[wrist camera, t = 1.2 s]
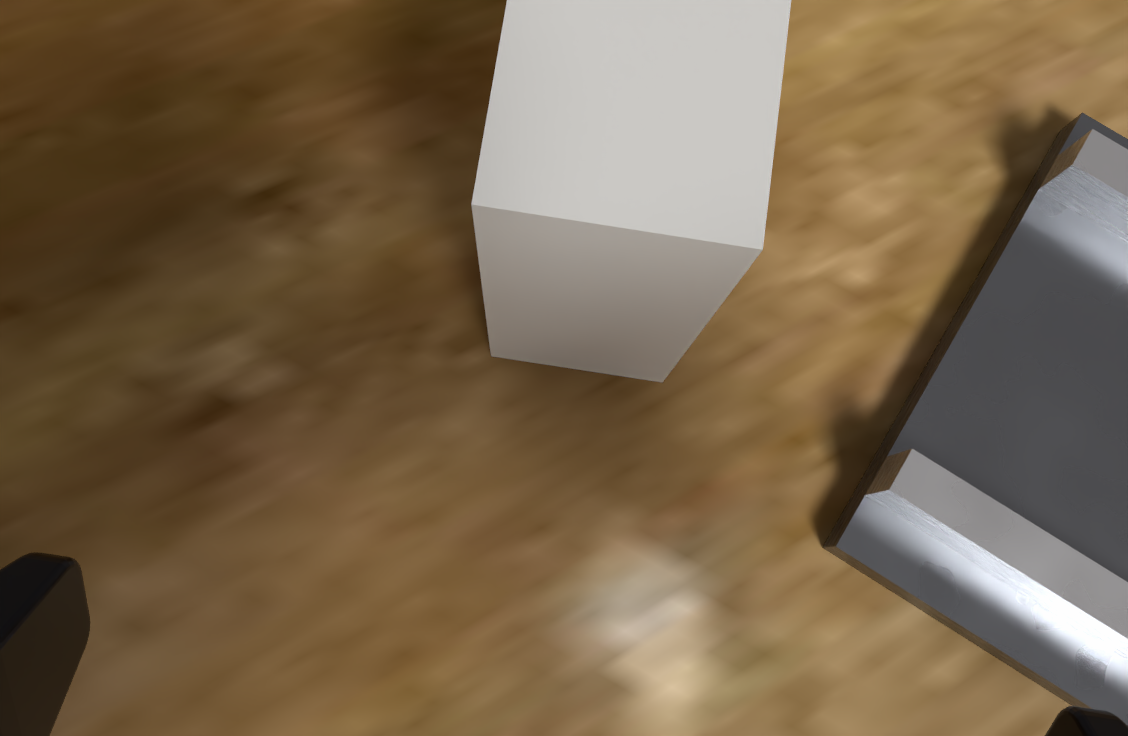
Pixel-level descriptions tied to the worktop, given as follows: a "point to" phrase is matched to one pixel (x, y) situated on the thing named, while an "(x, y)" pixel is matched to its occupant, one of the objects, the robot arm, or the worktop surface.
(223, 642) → the worktop surface
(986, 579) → the rail plate
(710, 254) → the block
